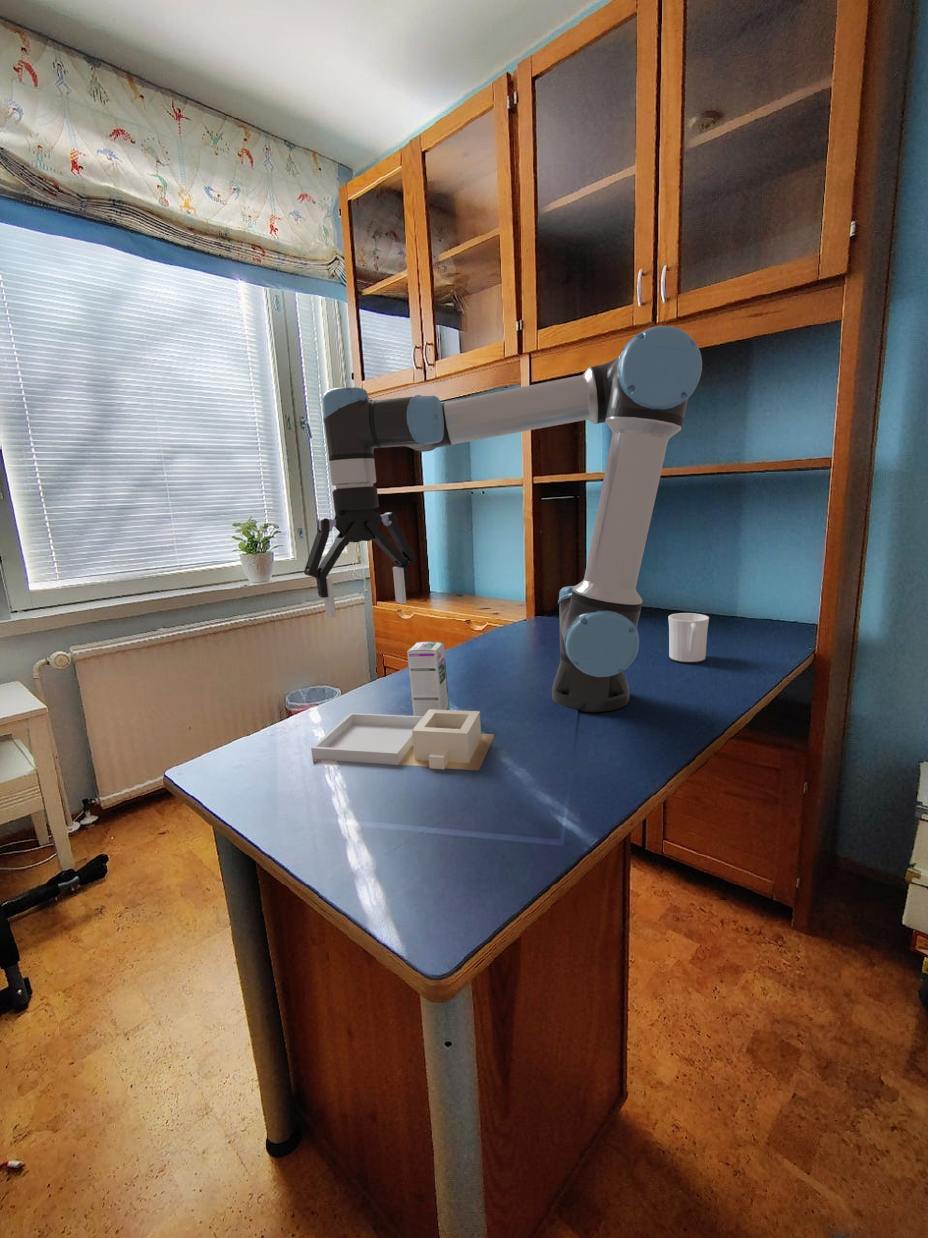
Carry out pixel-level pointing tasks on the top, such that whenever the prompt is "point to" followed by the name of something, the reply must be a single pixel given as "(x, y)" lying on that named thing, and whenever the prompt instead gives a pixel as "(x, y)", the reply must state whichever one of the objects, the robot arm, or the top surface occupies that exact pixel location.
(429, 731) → the cream hollow block
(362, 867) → the top surface
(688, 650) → the mug
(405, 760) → the tan square lid
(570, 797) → the top surface
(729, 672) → the top surface
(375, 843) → the top surface
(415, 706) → the syrup box
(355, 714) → the tray
